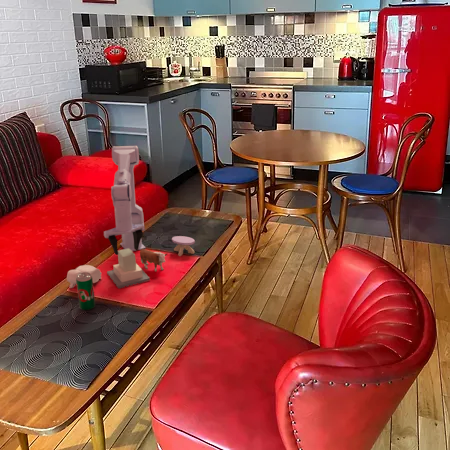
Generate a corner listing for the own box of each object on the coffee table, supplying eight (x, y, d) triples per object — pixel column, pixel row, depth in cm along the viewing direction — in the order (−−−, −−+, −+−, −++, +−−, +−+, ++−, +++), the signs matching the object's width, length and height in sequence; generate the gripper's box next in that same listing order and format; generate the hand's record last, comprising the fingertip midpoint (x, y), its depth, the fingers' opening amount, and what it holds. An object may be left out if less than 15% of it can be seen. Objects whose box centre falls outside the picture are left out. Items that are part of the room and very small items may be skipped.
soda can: (90, 301, 170) (86, 270, 165) (98, 307, 167) (94, 275, 162) (76, 307, 167) (72, 275, 162) (84, 312, 163) (80, 280, 159)
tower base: (107, 273, 189) (106, 264, 187) (137, 266, 194) (136, 257, 193) (118, 288, 178) (117, 278, 177) (149, 280, 184) (149, 270, 182)
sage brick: (118, 265, 186) (117, 250, 184) (130, 262, 188) (129, 248, 186) (124, 272, 181) (123, 257, 179) (136, 269, 183) (135, 254, 181)
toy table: (167, 253, 206) (167, 240, 204) (180, 245, 213) (180, 233, 211) (186, 258, 201) (186, 245, 199) (199, 250, 208) (199, 238, 206)
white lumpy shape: (83, 285, 187) (58, 289, 173) (85, 262, 187) (61, 265, 172) (103, 288, 184) (79, 293, 170) (105, 266, 184) (82, 268, 170)
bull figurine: (163, 276, 187) (162, 256, 184) (138, 266, 194) (136, 247, 191) (171, 271, 190) (170, 252, 187) (146, 262, 198) (145, 243, 195)
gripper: (106, 224, 171) (110, 260, 176) (146, 216, 177) (149, 251, 182) (100, 217, 176) (104, 252, 182) (139, 210, 183) (142, 244, 188)
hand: (126, 251), depth 182 cm, fingers open, 7 cm apart
